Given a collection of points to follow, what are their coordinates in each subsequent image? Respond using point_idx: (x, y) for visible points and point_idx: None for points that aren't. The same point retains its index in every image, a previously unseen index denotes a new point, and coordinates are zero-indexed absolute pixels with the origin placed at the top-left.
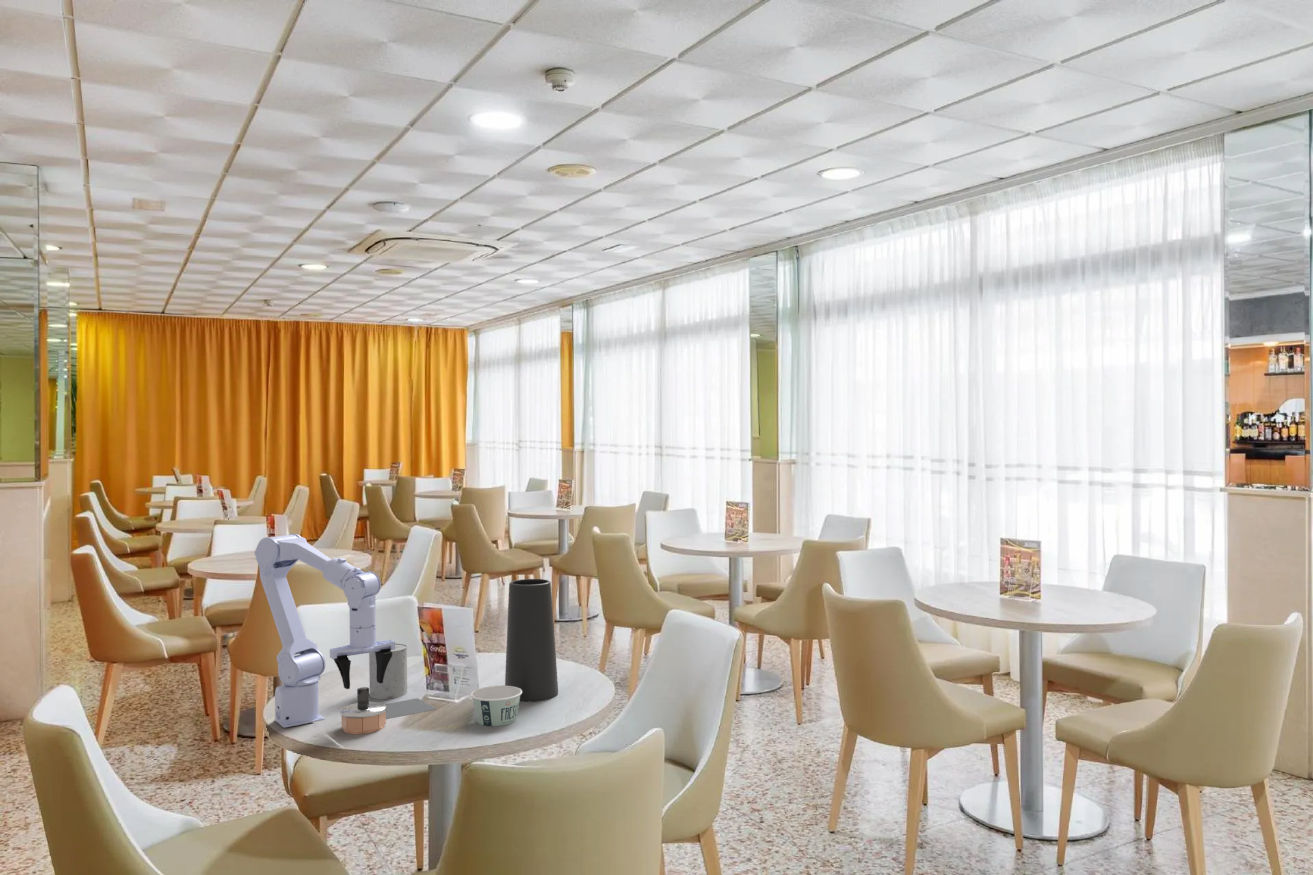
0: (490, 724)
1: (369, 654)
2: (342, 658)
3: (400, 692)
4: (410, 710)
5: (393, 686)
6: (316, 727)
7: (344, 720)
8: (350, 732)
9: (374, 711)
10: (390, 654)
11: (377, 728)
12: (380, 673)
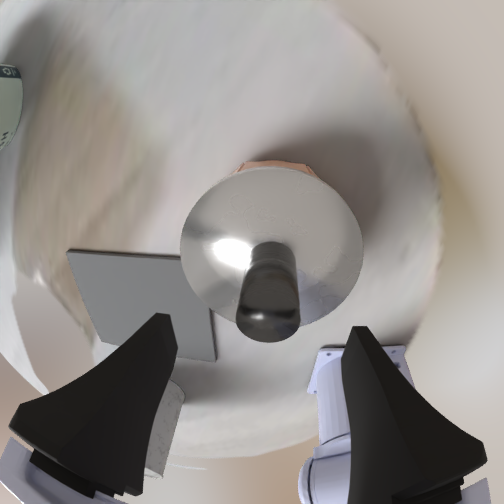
0: (14, 67)
1: (164, 468)
2: (434, 495)
3: None
4: (117, 282)
5: None
6: (360, 317)
7: None
8: None
9: (252, 183)
10: (17, 419)
11: (250, 161)
12: (146, 356)
